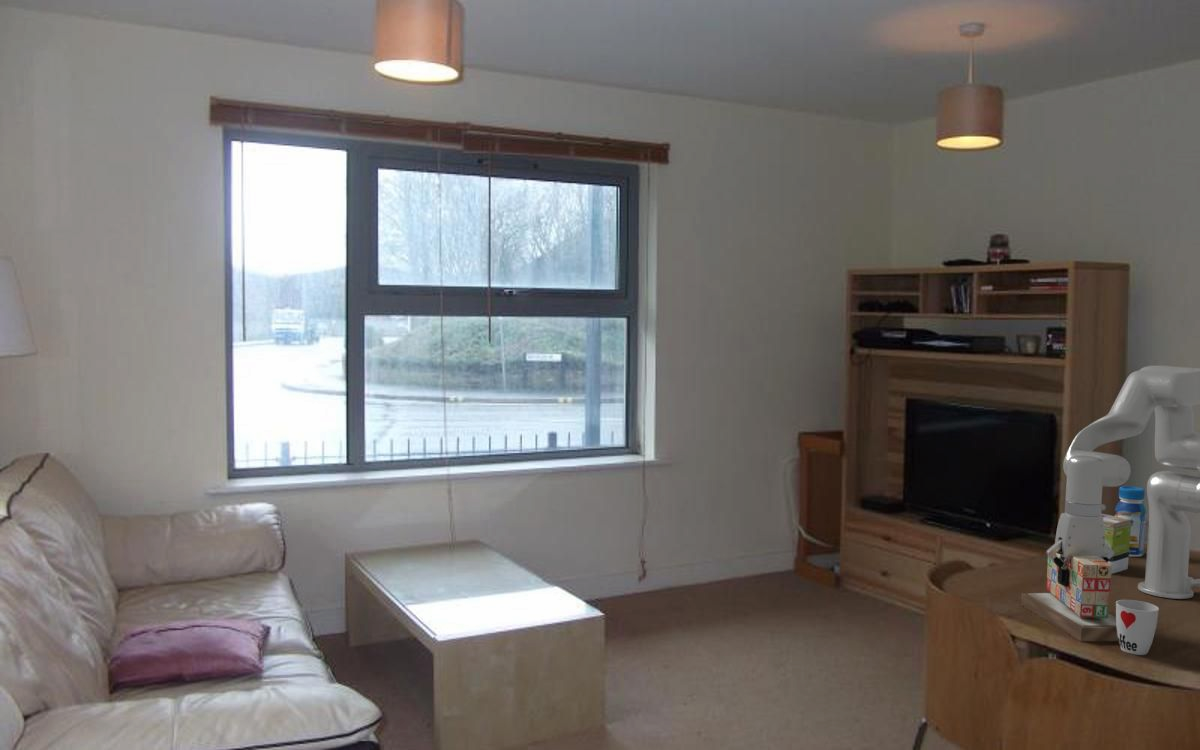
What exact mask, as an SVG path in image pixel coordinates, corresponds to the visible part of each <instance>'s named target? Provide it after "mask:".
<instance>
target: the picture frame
mask: <svg viewBox="0 0 1200 750" xmlns="http://www.w3.org/2000/svg"><path fill="white" fill-rule="evenodd" d="M1020 595H1021V597H1020V599H1021V600H1020V606H1021V607H1023V606H1024V607H1023V608H1025V609H1026V608H1027V609H1026V610H1028V611H1030V612H1031V611H1032V612H1031V613H1033V614H1034V615H1036V614H1037V616H1038V617H1040V618H1041V617H1042V618H1041V619H1042V620H1045V621H1046V620H1047V622H1048V623H1049V622H1050V623H1049V624H1051V625H1053V626H1054V627H1056V628H1058V629H1059V628H1060V629H1059V630H1062V631H1063V633H1066V634H1068V635H1069V634H1070V635H1069V636H1070V637H1073V638H1074V639H1076V640H1078V641H1080V642H1119V640H1118V635H1117V626H1116V615H1115V614H1112V613H1111V612H1109V611H1108V618H1095V617H1093V618H1092V617H1079V616H1078V615H1077V614H1076V613H1075V612H1074V611H1072V610H1071V609H1070V608H1069V607H1068V606H1067V605H1066V604H1064V603H1063V602H1062V601H1061V600H1059V599H1058V598H1057V597H1056V596H1054V595H1053V594H1052V593H1051V592H1038V593H1037V592H1033V593H1032V592H1030V593H1029V592H1027V593H1026V592H1025V593H1024V592H1023V593H1022V592H1021V594H1020Z"/></svg>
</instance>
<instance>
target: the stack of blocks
mask: <svg viewBox="0 0 1200 750" xmlns="http://www.w3.org/2000/svg"><path fill="white" fill-rule="evenodd" d="M1056 555H1057V557H1058V558H1059V557H1060V555H1061V554H1057V553H1056ZM1046 557H1047V561H1046V565H1047V567H1046V568H1047V569H1046V570H1047V571H1046V589H1047V591H1049V593H1052V594H1053V595H1054V596H1056V597H1057V598H1058V599H1059V600H1061V601H1062V602H1063V603H1064V604H1066V605H1067V606H1068V607H1069V608H1070V609H1071V610H1072V611H1074V612H1075V613H1076V614H1077V615H1078V616H1079V617H1092V618H1093V617H1095V618H1108V612H1109V611H1110V610H1109V608H1110V604H1109V603H1110V602H1109V601H1110V595H1111V594H1110V591H1111V583H1112V574H1111V570H1112V565H1110V564H1109V563H1107V562H1106V561H1105V560H1104V559H1102V558H1100V557H1098V556H1072V558H1071V559H1070V563H1069V565H1068V567H1067V569H1068V570H1069V585H1068V587H1065V586H1063V585H1061V584H1059V583H1058V567H1057V566H1056V564H1055V563H1054V562H1053V561H1052V559H1051V558H1050V557H1049V556H1048V555H1047V556H1046Z"/></svg>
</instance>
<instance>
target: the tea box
mask: <svg viewBox="0 0 1200 750" xmlns="http://www.w3.org/2000/svg"><path fill="white" fill-rule="evenodd" d="M1101 516H1103V520H1104V526H1105V544H1107V545H1108V546H1109V547H1110V548H1111V549H1112V550H1113V551H1114V555H1113V556H1112V557H1111V558H1110V559H1109V560H1108V562H1107V563H1109V564H1110V565H1112V570H1111V575H1114V574H1117V573H1119V572H1123V571H1126V570H1128V567H1129V546H1130V532H1131V519H1125V518H1120V517H1116V516H1115V515H1110V514H1107V513H1106V514H1104V513H1101Z"/></svg>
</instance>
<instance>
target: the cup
mask: <svg viewBox="0 0 1200 750" xmlns="http://www.w3.org/2000/svg"><path fill="white" fill-rule="evenodd" d="M1159 610H1160V608H1159V607H1158V606H1157V605H1155V604H1152V603H1151V602H1146V601H1141V600H1136V599H1119V600H1116V601H1115V616H1116V626H1117V635H1118V640H1119V641H1118V643H1119V646H1120V650H1121V651H1123V652H1125V653H1128V654H1130V655H1136V656H1145V655H1147V654H1148V653H1149V651H1150V649H1151V646H1152V644H1153V640H1154V637H1155V633H1156V630H1157V624H1158V618H1159V612H1160V611H1159Z"/></svg>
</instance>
